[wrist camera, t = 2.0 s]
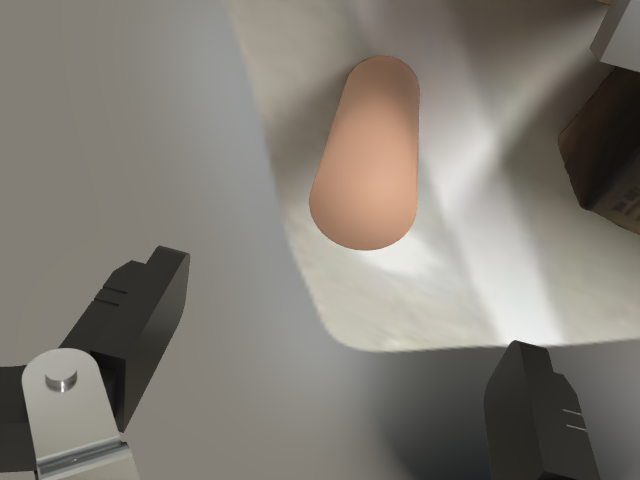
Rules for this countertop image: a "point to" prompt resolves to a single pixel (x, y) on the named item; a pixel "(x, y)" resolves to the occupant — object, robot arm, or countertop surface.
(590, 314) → the countertop surface
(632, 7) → the socket station
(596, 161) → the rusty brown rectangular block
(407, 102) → the peg
